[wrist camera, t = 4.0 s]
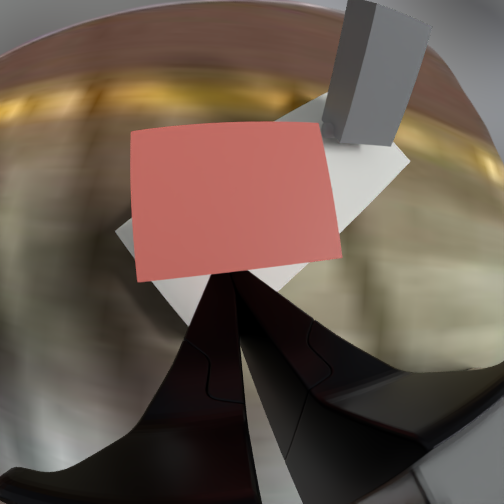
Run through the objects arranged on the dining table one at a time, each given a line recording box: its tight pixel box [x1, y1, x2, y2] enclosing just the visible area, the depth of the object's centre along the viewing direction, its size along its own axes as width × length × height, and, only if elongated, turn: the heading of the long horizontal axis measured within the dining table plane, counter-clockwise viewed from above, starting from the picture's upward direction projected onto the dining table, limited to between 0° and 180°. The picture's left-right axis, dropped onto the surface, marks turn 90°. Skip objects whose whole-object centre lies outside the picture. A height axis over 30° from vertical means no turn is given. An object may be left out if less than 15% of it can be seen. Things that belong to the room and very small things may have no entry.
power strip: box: [115, 92, 410, 326], centre depth 19 cm, size 25×8×3 cm, turn 132°
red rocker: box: [130, 121, 342, 282], centre depth 10 cm, size 3×5×10 cm, turn 99°
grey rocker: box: [321, 0, 432, 147], centre depth 14 cm, size 3×5×10 cm, turn 99°
